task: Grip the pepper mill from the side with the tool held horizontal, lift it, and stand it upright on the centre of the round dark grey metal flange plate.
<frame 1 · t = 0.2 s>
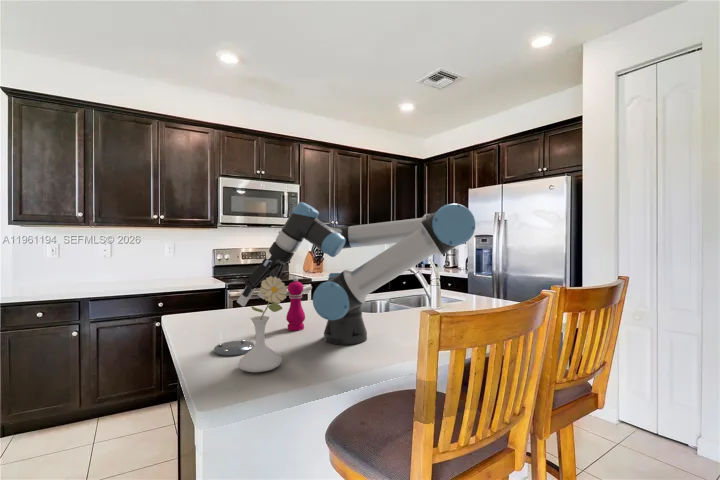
hand: (251, 300, 117), 15 cm above the table, tool tilted 35°, fingers open, 13 cm apart
flower in vase: (263, 368, 97), on the table
flange plate: (234, 350, 113), on the table
pepper mill: (295, 329, 138), on the table
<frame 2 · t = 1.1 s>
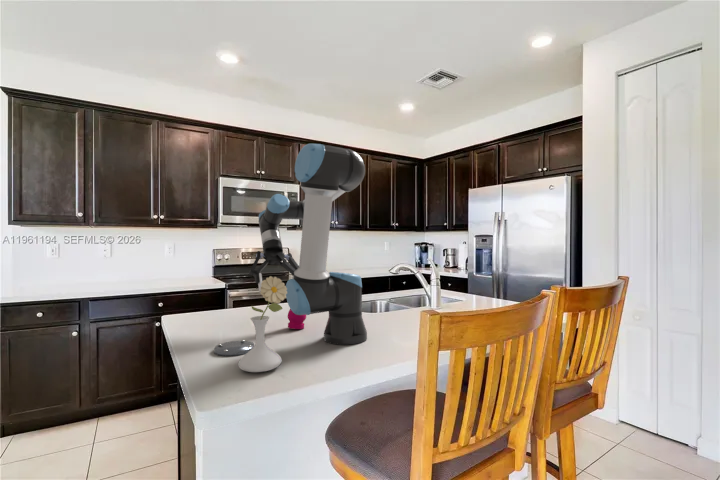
hand: (279, 290, 130), 16 cm above the table, tool tilted 35°, fingers open, 13 cm apart
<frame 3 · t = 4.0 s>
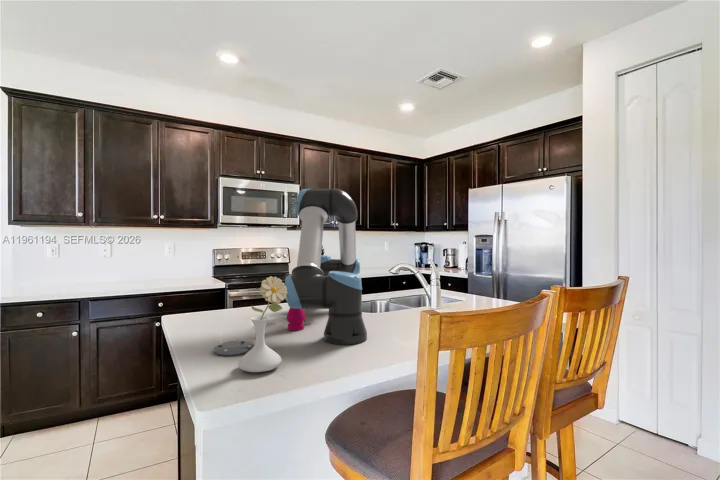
hand: (302, 297, 146), 11 cm above the table, tool horizontal, fingers open, 13 cm apart
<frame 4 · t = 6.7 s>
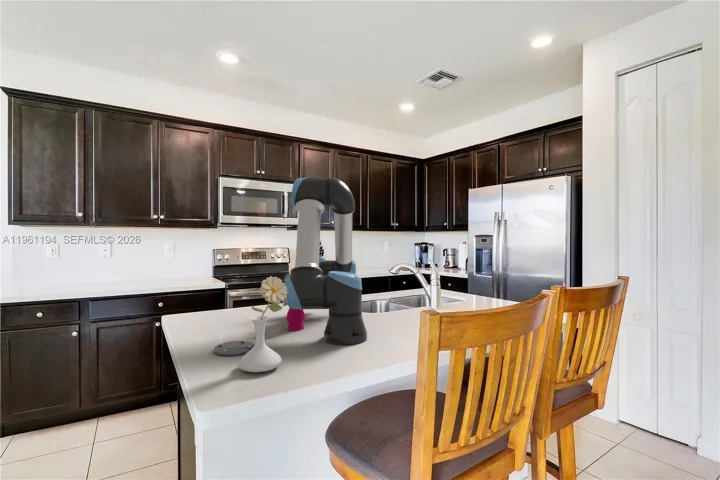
hand: (290, 303, 133), 11 cm above the table, tool horizontal, fingers closed on pepper mill, 5 cm apart
pepper mill: (295, 329, 138), on the table, touching gripper
everything else where it was.
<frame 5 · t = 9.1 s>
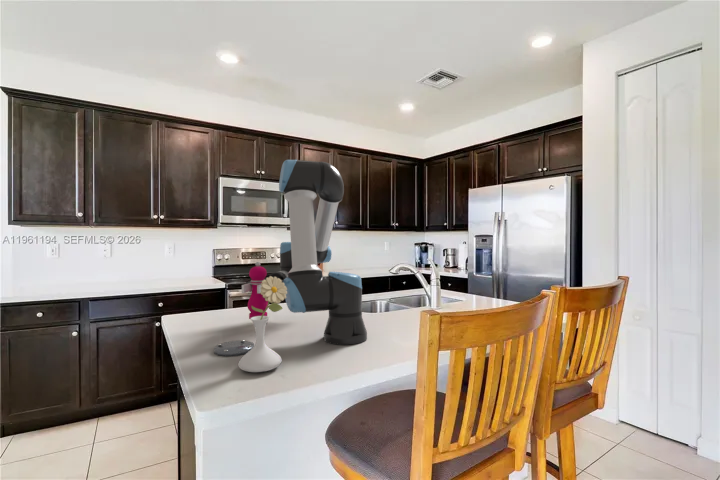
hand: (250, 289, 121), 18 cm above the table, tool horizontal, fingers closed on pepper mill, 5 cm apart
pepper mill: (258, 318, 126), point 7 cm above the table, touching gripper
everything else where it was.
when the fingers open (14 cm above the table, at t = 11.5 s): pepper mill drops 1 cm, resting on flange plate.
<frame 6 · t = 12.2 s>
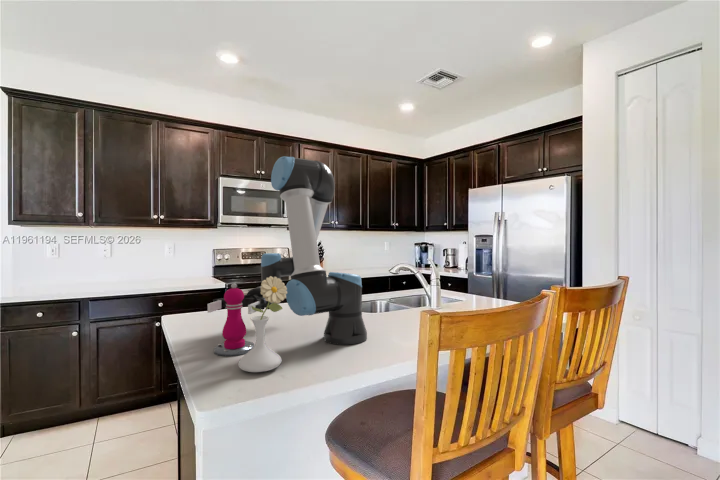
hand: (228, 308, 109), 14 cm above the table, tool horizontal, fingers open, 13 cm apart
pepper mill: (234, 346, 113), point 1 cm above the table, touching flange plate
everything else where it was.
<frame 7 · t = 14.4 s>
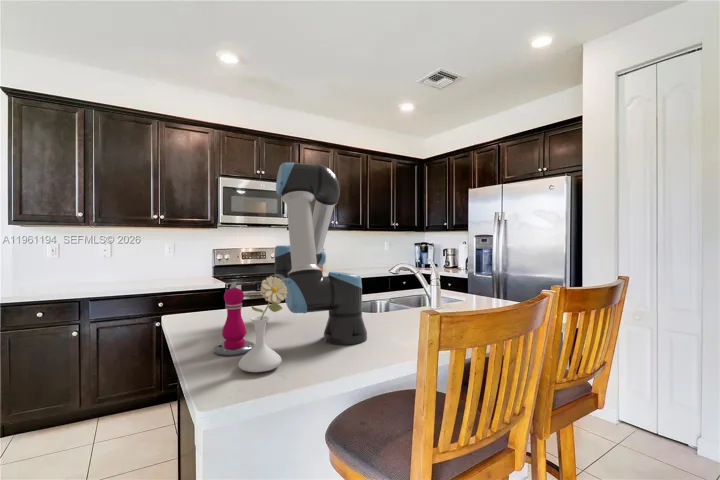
hand: (248, 291, 122), 17 cm above the table, tool horizontal, fingers open, 13 cm apart
nothing on the table moved.
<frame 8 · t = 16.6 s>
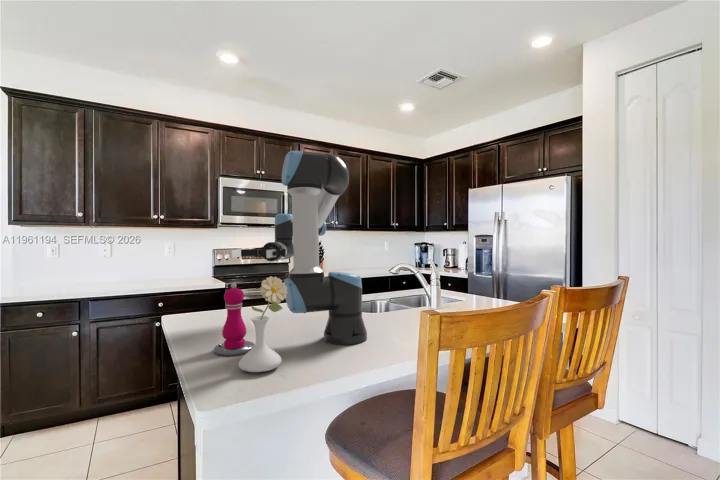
hand: (248, 254, 122), 30 cm above the table, tool horizontal, fingers open, 13 cm apart
nothing on the table moved.
at the end: pepper mill 0.1 cm off-centre on the flange plate, point 1.0 cm above the flange plate's base; pepper mill tilted 0°; the gripper is holding nothing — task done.
